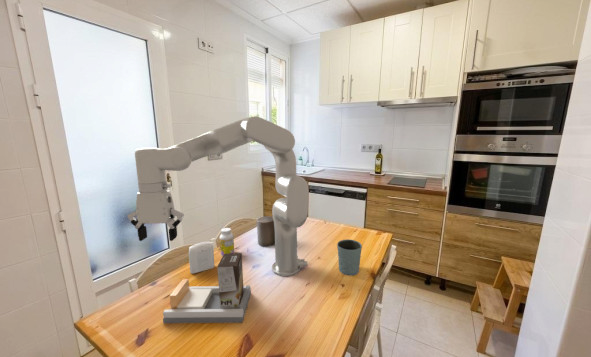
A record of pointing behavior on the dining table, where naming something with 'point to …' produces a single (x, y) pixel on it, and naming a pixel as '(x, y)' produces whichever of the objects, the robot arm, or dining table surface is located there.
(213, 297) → the rail board
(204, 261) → the photo printer
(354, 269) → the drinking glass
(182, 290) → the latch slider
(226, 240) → the supplement bottle
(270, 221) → the pillar candle
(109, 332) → the dining table surface
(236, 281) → the coffee box
